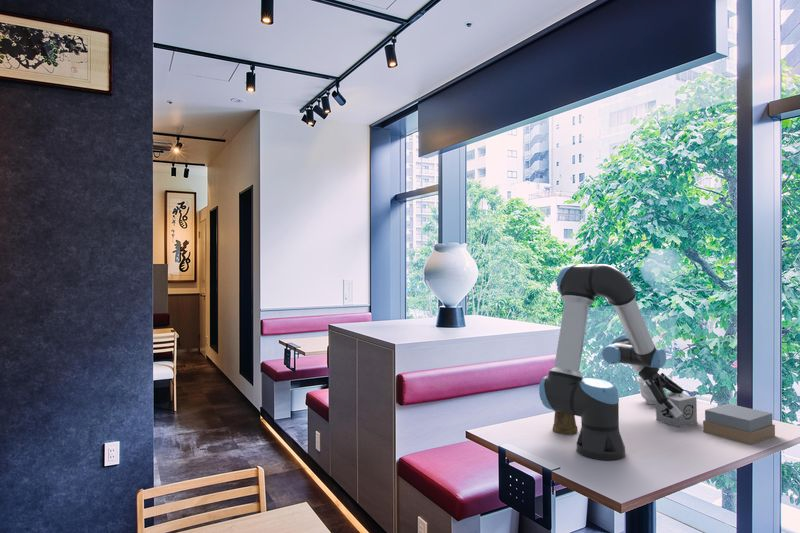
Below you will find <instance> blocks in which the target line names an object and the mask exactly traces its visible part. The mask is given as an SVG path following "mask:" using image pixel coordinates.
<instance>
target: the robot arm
mask: <svg viewBox="0 0 800 533" xmlns="http://www.w3.org/2000/svg"><path fill="white" fill-rule="evenodd" d="M556 289H557V292H558V293H559V294H560V295H561V296H560V298H561V300H562V301H563V303H564V304H563V310H562V317H561V323H560V328H559V336H558V341H557V348H556V354H555V361H554V365H553V366H554V367H552V368H550V369H549V370H548V375H546V376H543V377H542V378H541V381H540V383H539V385H538V386H539V388H538V391H539V392H538V393H539V394H538V395H539V399H540V401H541V403H542V405H543V406H544V407H545V408H546V409H548V410H552V411H554V412H555V411H556V412H562V413H567V414H571V415H575V417H580V418H581V419H580V420H581V422H580V423H581V428H580V431H579V434H578V437H577V441H576V451H577V453H579V454H580V455H582V456H584V457H587V458H588V459H589V458H590V459H594V460H598V461H599V460H600V461H601V460H602V461H614V460H615V461H616V460H620V459H623V458H624V457H625V456H626V447H625V443H624V440H623V438H622V435H621V432H620V419H619V418H620V417H619V414H620V413H619V404H620V403H619V402H620V399H619V391H618V388H617V387H616V386H615V384H614V383H611V382H609V381H607V380H603V379H599V378H591V377H588V378H587V377H586V378H584V377H583V375H582V373H580V369H581V368H580V367H581V361H582V356H583V355H582V354H583V347H584V342H585V336H586V329H587V328H586V327H587V322H588V316H589V309H590V308H589V307H591V306H592V305H594V303H595V299H596V297H597V298H598V297H603V298H605V299H606V300H607V301H608V303H609V304H610V305H611V306H613V308H614V310H615V312H616V314H617V316H618V319H619V321H620V322H621V323H620V324H621V325H622V328H623V329H624V332H625V333H622V334H619V335H618V336H617V337H616V338H614V339H613V340H612V341H611V344H608V345H606V346H604V348H602V351H601V357H602V359H603V360H604V361H605V362H606V363H607V364H609V365H616V364H624V365H630V367H631V369H632V370H634V371H635V372H636V373H638V374H637V375H638V376H639V378H642V379H643V380H644V381H646V380H647V381H646V382H645V383H646V384H647V385H648V387H649V388H650V390H651V391H652V393H653V395H654V397H655V398H656V400H657V402H658V403H659V404H661V405H662V404H664V405H665V406H666V407H667V408H668V409H669V410H670V412H671V413H672V414H673V415H674V416H675V417H676V418H677V417H679V416H680V415H681V414H682V412H681V411H680V410H679V409H678V408H677V407H676V406H675V405H674V404H673V403H672V402H671V401H670V399H669V400H668V399H667V397H666V395H665V393H666V392H664V390H663V388H665V390H667V391H669V392H672V393H676V392H677V393H681V394H684V392H685V390H684V389H683V388H682V387H681V386H680V385H678V384H677V383H676V382H675V381H673V380H672V379H670V378H669V377H668V376H666V375H665V373H664V372H661V373H659V371H660V369H661V368H664V366H666V365H665V364H666V362H667V354H666V351H665V349H663V348H660V347H656V345H655V342H654V341H653V338H652V336H651V334H650V331H649V329H648V326H647V325H646V321H645V319H644V317H643V314H642V313H641V312H642V311H641V309H640V308H639V304H638V303H637V301H636V300H637V299H636V297H637V293H636V290H635V288H634V286H633V284H632V283H631V281H630V280H629V278H627V276H626V275H625V274H624V273H623V272H622V271H620V270H619V269H617V268H616V267H614V266H612V265H609V264H605V263H603V264H602V263H599V264H578V263H576V264H570V265H569V264H568V265H566V266H564V267H563V268H562V269H561V270H560V271H559V273H558V275H557V278H556Z"/></svg>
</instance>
